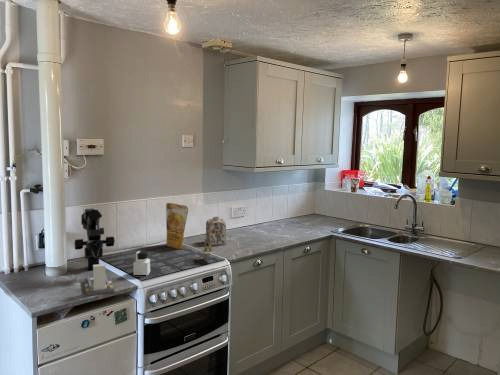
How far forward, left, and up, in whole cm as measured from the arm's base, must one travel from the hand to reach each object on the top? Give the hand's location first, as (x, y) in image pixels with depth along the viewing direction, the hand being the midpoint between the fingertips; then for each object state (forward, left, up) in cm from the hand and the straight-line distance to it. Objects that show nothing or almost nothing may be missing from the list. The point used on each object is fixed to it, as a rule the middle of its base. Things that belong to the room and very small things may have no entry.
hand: (96, 257), depth 202 cm
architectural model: (+17, +60, -12) cm, 63 cm away
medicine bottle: (+9, +20, -11) cm, 25 cm away
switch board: (+10, -5, -11) cm, 16 cm away
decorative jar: (-7, +91, -11) cm, 92 cm away
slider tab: (+16, -7, -10) cm, 20 cm away
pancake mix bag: (-19, +67, -11) cm, 70 cm away
